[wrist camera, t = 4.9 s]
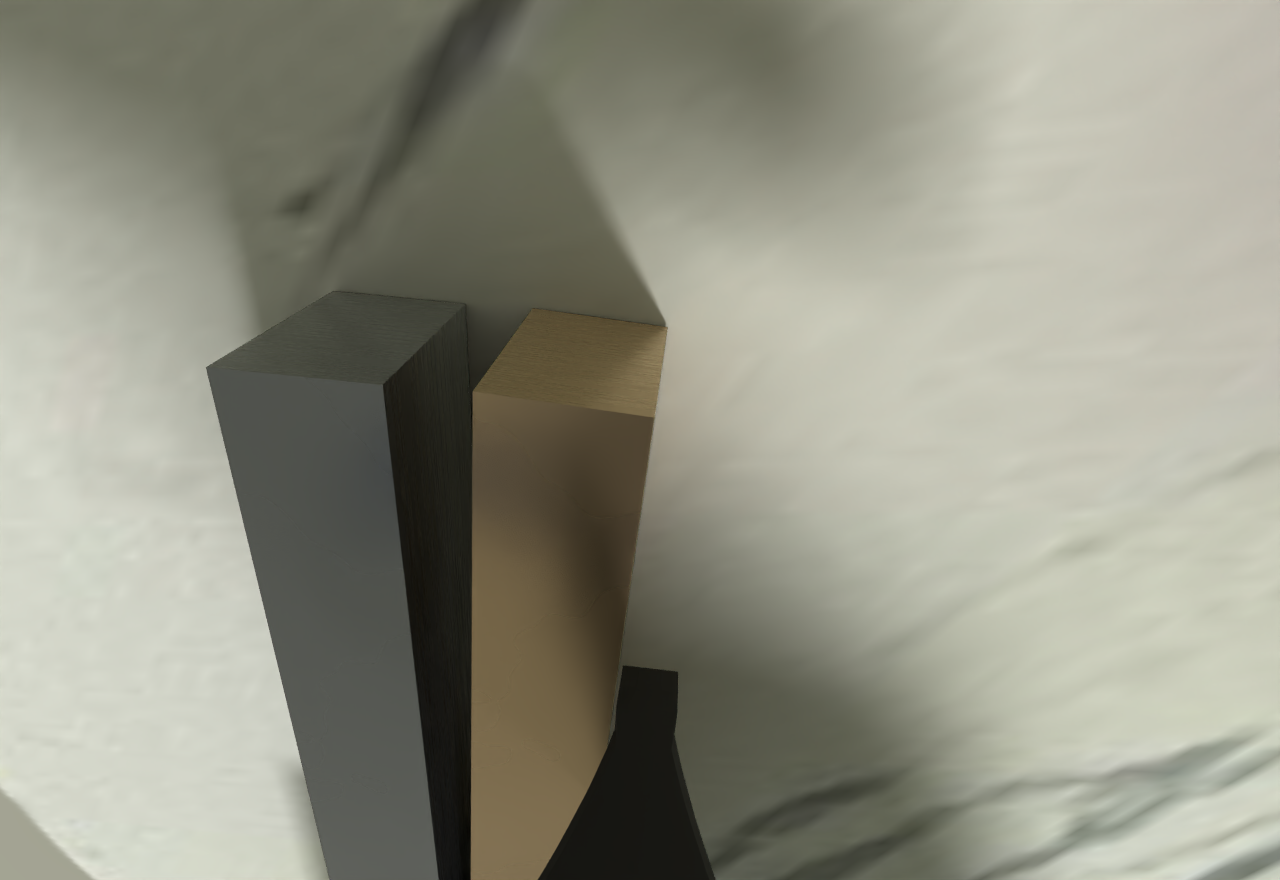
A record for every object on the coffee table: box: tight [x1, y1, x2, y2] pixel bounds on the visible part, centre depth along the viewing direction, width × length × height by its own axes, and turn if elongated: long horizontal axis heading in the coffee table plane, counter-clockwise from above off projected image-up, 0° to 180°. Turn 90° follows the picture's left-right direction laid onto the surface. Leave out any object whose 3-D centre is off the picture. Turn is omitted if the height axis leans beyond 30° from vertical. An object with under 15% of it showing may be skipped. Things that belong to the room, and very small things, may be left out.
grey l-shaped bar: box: [206, 291, 473, 880], centre depth 13 cm, size 19×6×4 cm, turn 176°
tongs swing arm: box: [471, 308, 668, 880], centre depth 12 cm, size 14×2×3 cm, turn 173°
